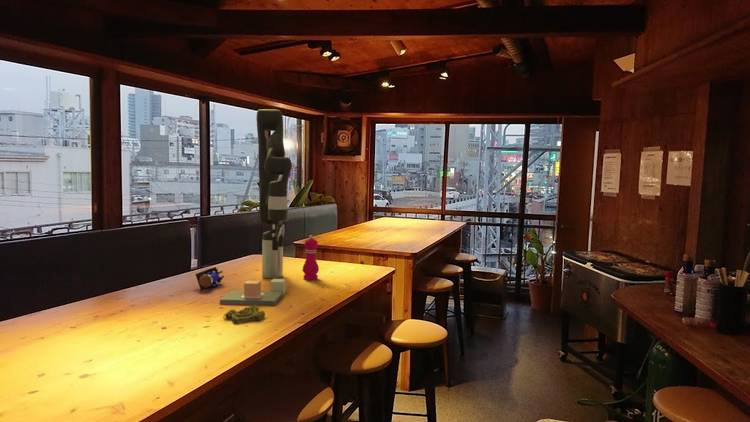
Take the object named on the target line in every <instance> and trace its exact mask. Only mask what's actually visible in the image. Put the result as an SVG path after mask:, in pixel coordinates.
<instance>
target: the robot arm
mask: <svg viewBox="0 0 750 422" xmlns="http://www.w3.org/2000/svg"><path fill="white" fill-rule="evenodd" d="M256 128H257V129H256V131H257V143H258V178H259V179H258V182H259V199H258V200H259V202H258V203H259V207H258V217H259V218H258V219H259V222H260V224H262V225H270V230H269V231H265V232H263V233H262V238H261V239H262V242H261V245H262V248H261V249H262V251H261V252H262V253H261V254H262V255H261V257H262V259H261V262H262V263H261V265H262V266H261V267H262V269H261V271H262V273H261V277H262V278H264V279H281V278H282V277H283V276H284V275H283V274H284V271H283V270H284V260H283V259H284V237H285V234H286V233H285V225H286V224H285V221H287V220H288V219H289V218H288V217H289V216H288V212H289V211H288V203H289V202H288V184H289V178H290V175H291V171H292V168H293V167H292V166H293V163H292V160H291V159H290V158H289V157H287V156H286V151H285V150H286V149H285V145H284V116H283V113H282V111H281V110H279V109H275V108H274V109H273V108H272V109H267V108H264V109H261V108H260V109H258V110H257V112H256ZM270 131H271V132H272V133H271V134H270V135H269V137H268V138H267V137H266V132H270ZM280 176H281V177H280Z"/></svg>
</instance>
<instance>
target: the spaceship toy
mask: <svg viewBox="0 0 750 422" xmlns="http://www.w3.org/2000/svg"><path fill="white" fill-rule="evenodd" d="M259 310H260V307H259V305H251V306H249V307H244V308H243V309H240V310H238V311H237V310H236V309H234V308H233V309H232V308H231V309H230V310H228V311H227V312H225V313H224V314H223V320H226V319H230V320H231V321H233V322H232V324H233V325H234V324H236V325H237V324H238V325H239V324H242V323H246V322H250V321H253V322H256V321H257V322H261V321H260V320H262V319H263V318H265V316H266V312H265V311H264V310H260V311H259Z"/></svg>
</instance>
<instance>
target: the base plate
mask: <svg viewBox="0 0 750 422" xmlns="http://www.w3.org/2000/svg"><path fill="white" fill-rule="evenodd" d="M283 296H284V294H283V292H276V291H270V290H261V294H260V295H259V296H258V297H244V290H235V289H234V290H233V289H232V290H231V291H229V292H228V293H226V294H225V295H224V296H222V297H221V298H220V299H219V304H220V305H244V306H246V305H249V306H250V305H251V306H256V305H257V306H276V305H277V304H278V302H279V301H280V300H281V299H282V297H283Z"/></svg>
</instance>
